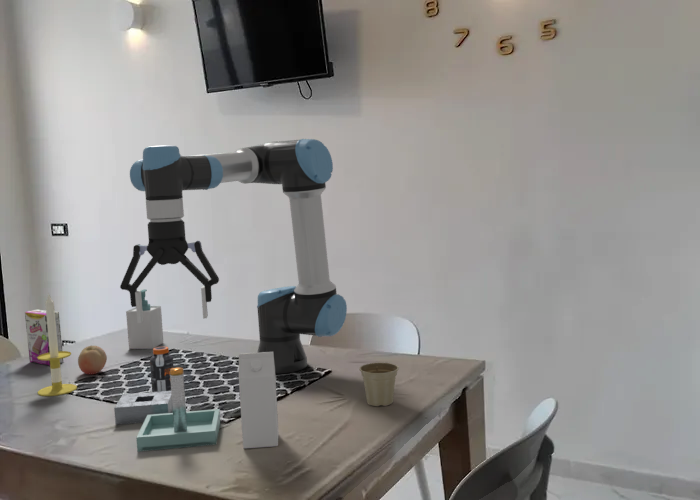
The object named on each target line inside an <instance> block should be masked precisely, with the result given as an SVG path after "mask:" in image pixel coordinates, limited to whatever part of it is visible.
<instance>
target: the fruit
mask: <svg viewBox="0 0 700 500" xmlns="http://www.w3.org/2000/svg"><path fill="white" fill-rule="evenodd" d="M107 359H108V357H107V353H106V351H105V350H104V349H103V348H101V347H100V346H98V345H88V346H85V347H84V348H83V349H82V350H81V352H80V353H79V354H78V358H77V364H78V368H79V369H80V371H81V372H82V373H84V374H85V375H88V376H89V375H96V374H98V373H99V372H101V371H102V370H103V369H104V367H105V366H106V363H107Z"/></svg>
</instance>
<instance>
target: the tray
mask: <svg viewBox="0 0 700 500" xmlns="http://www.w3.org/2000/svg"><path fill="white" fill-rule="evenodd" d="M220 412H221V411H220V408H216V409H203V410H191V411H186V418H187V432H176V433H174V423H173V412H172V413H164V414H152V415H147V417H146V419H145V421H144V422H142V425H141V427H140V429H139V431H138V433H137V436H136V449H137V452H147V451H149V452H150V451H159V450H169V449H170V450H171V449H173V450H174V449H182V448H184V449H185V448H193V447H194V448H195V447H206V446H217V443H218V437H219V433H220V432H219V431H220V425H221V413H220Z"/></svg>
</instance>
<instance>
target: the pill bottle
mask: <svg viewBox="0 0 700 500" xmlns="http://www.w3.org/2000/svg"><path fill="white" fill-rule="evenodd" d="M169 349H170V348H169V347H168V346H157V347H155V348H153V349H152V354H153V355H152V356H151V357H150V359H149V363H150V364H149V366H150V378H151V379H150V380H151V382H150V384H151V390H152V391H153V392H162V391H171V381H170V369H172V368H175V366H174V357H173V355H171V354H170V353H169V352H170V350H169Z"/></svg>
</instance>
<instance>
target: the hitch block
mask: <svg viewBox="0 0 700 500" xmlns="http://www.w3.org/2000/svg"><path fill="white" fill-rule="evenodd" d="M113 410H114V421H115V425H117V426H118V425H129V424H139V423H141V424H143V423H144V421H145V419H146V417H147V415H152V414H164V413H173V409H172V395H171V390H170V391H162V392H155V391H153V392H151V391H150V392H140V393H139V392H138V393H126V394H121V397H120V398H119V400H118V401H117V403H116V404H115V406H114V407H113Z"/></svg>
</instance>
